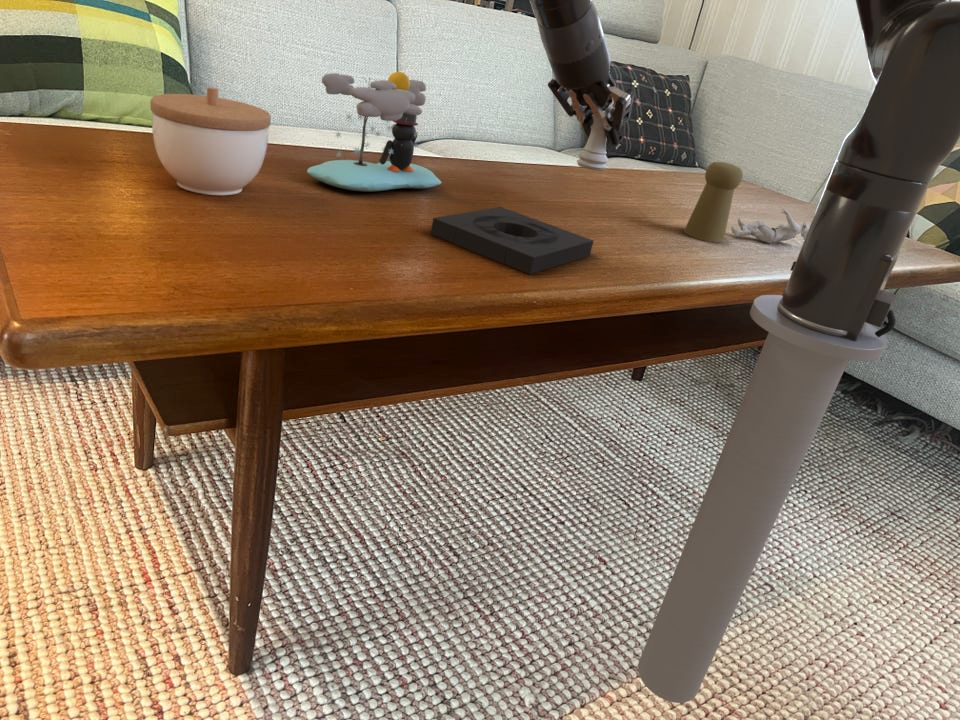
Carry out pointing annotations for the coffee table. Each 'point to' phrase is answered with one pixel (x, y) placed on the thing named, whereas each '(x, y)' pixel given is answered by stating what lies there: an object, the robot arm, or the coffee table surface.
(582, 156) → the rook chess piece
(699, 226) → the brown game pawn
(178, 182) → the lidded bowl
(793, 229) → the soldier figure
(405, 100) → the penguin figurine
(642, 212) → the coffee table surface
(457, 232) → the pad
